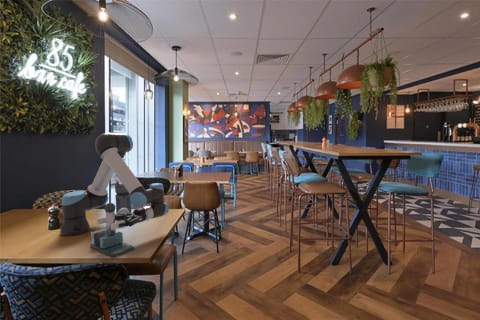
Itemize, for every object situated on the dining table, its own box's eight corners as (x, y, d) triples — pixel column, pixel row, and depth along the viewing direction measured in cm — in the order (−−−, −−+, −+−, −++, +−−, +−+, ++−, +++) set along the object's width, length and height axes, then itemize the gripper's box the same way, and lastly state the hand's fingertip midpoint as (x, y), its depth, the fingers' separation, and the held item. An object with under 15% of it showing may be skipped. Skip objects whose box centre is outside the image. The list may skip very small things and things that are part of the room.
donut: (119, 225, 170) (119, 210, 169) (115, 224, 171) (114, 209, 170) (131, 220, 179) (130, 206, 178) (127, 220, 180) (126, 205, 179)
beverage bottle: (136, 212, 200) (135, 179, 198) (123, 217, 188) (121, 182, 186) (126, 211, 204) (124, 178, 202) (112, 215, 191) (110, 181, 189)
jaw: (99, 246, 131) (96, 204, 129) (118, 240, 139) (116, 200, 137) (104, 249, 128) (102, 205, 126) (123, 242, 136) (122, 201, 134)
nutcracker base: (90, 246, 136) (89, 232, 135) (111, 240, 145) (110, 226, 144) (112, 257, 123) (111, 241, 122) (134, 249, 132) (133, 234, 131)
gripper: (157, 225, 140) (118, 237, 123) (130, 217, 155) (92, 227, 138) (156, 211, 139) (117, 221, 122) (129, 204, 154) (91, 213, 137)
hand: (104, 224), depth 130 cm, fingers open, 13 cm apart
